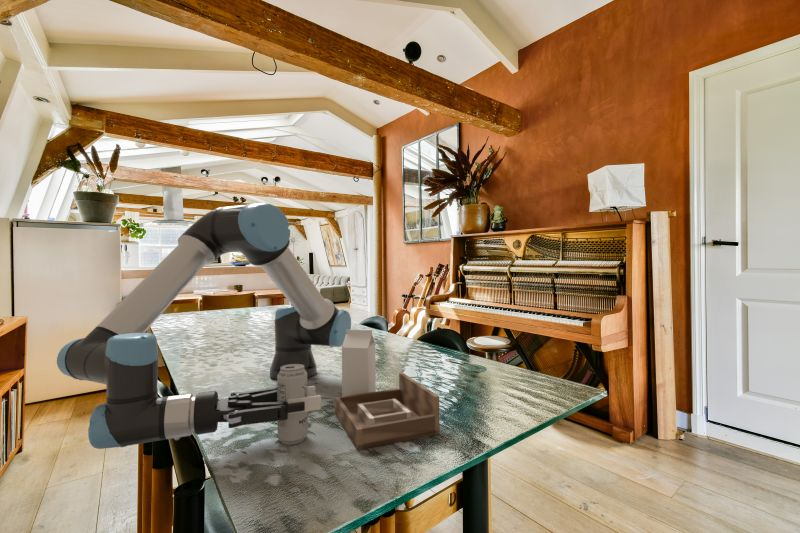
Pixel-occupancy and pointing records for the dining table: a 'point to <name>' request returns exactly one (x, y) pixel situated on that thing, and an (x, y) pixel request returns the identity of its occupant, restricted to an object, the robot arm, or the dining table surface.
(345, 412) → the walled box
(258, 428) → the dining table surface
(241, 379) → the dining table surface
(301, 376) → the energy drink can
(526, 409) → the dining table surface
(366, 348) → the milk carton
